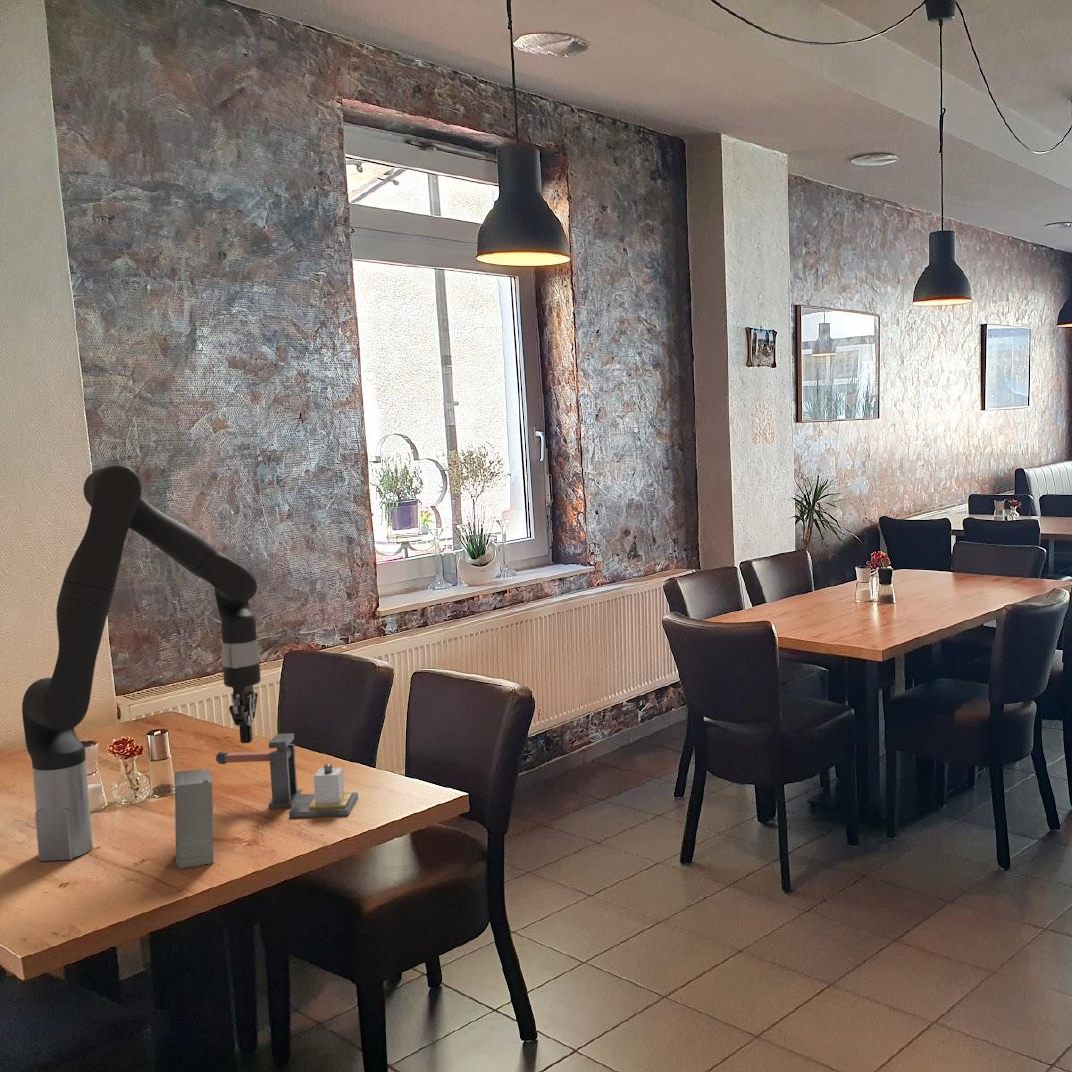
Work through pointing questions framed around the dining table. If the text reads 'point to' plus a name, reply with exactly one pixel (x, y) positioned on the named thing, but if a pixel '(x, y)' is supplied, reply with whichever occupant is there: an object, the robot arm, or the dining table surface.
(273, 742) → the press bed
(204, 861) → the skincare box
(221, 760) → the press lever
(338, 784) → the block
